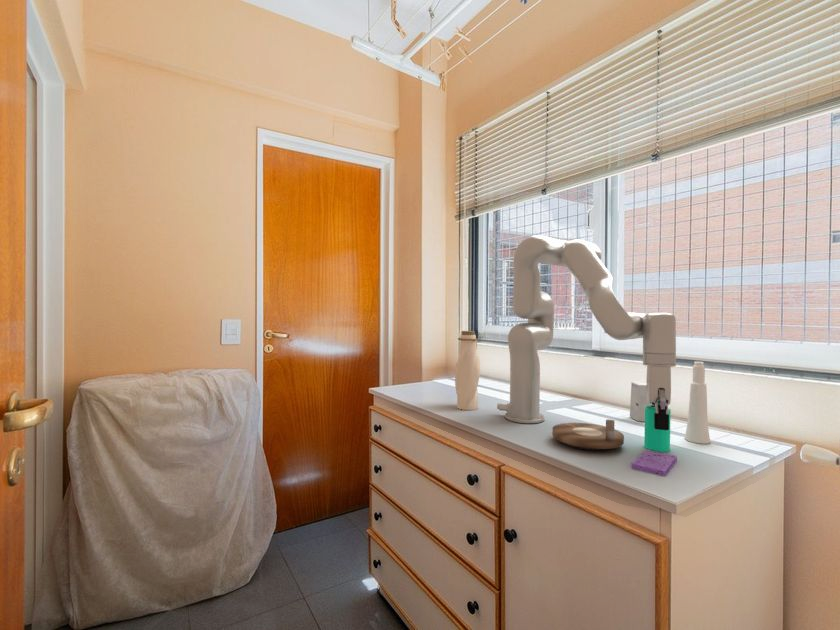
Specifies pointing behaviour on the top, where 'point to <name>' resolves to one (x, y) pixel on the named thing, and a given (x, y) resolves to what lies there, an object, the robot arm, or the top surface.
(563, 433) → the turntable
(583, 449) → the turntable base
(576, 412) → the top surface
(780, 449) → the top surface
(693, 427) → the cosmetic bottle
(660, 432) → the candle
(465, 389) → the water bottle
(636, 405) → the skincare box
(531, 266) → the robot arm
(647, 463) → the sponges
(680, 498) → the top surface
